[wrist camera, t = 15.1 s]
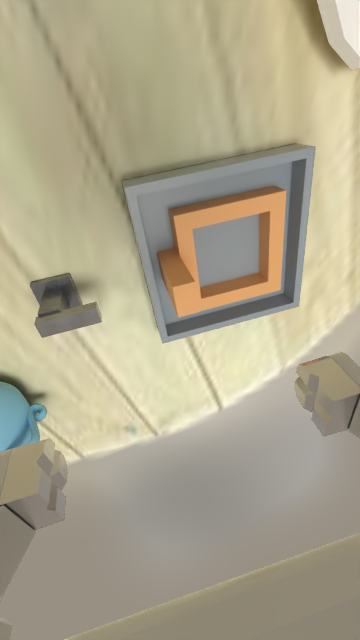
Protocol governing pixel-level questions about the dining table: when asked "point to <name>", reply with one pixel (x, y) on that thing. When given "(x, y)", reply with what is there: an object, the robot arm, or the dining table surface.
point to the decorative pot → (18, 418)
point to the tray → (222, 232)
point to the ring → (181, 260)
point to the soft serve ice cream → (343, 28)
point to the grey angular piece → (61, 306)
